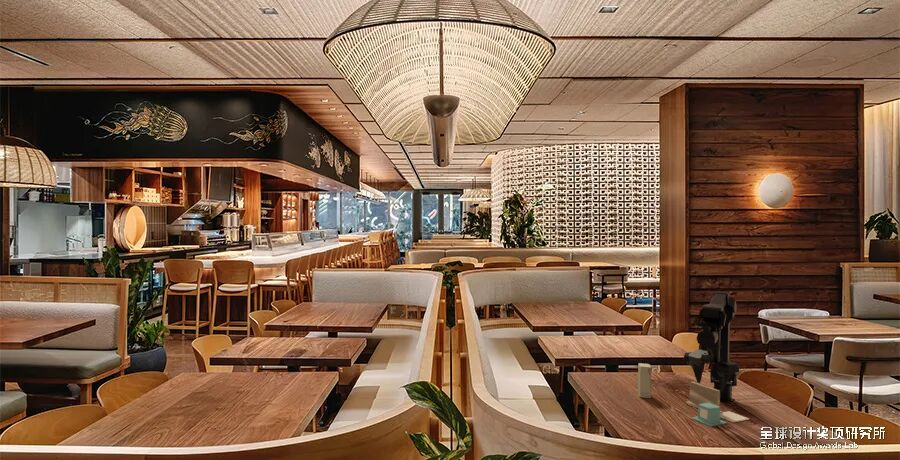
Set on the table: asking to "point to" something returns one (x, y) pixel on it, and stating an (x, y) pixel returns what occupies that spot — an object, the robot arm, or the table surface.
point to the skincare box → (644, 380)
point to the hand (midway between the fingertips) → (709, 386)
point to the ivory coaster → (732, 417)
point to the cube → (709, 412)
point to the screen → (703, 395)
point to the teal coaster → (709, 423)
